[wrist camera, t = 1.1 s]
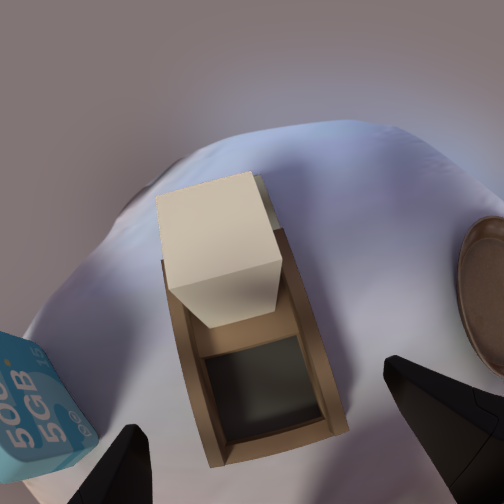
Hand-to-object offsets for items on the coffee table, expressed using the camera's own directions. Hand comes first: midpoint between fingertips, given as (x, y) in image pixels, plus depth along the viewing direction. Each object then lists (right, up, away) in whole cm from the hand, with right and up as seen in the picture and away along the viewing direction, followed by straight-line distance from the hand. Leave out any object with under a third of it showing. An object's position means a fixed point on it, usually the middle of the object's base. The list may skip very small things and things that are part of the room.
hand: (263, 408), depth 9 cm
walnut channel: (-1, 0, +15) cm, 15 cm away
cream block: (-2, +2, +14) cm, 14 cm away
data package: (-19, -9, +12) cm, 24 cm away
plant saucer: (+27, 0, +14) cm, 30 cm away
